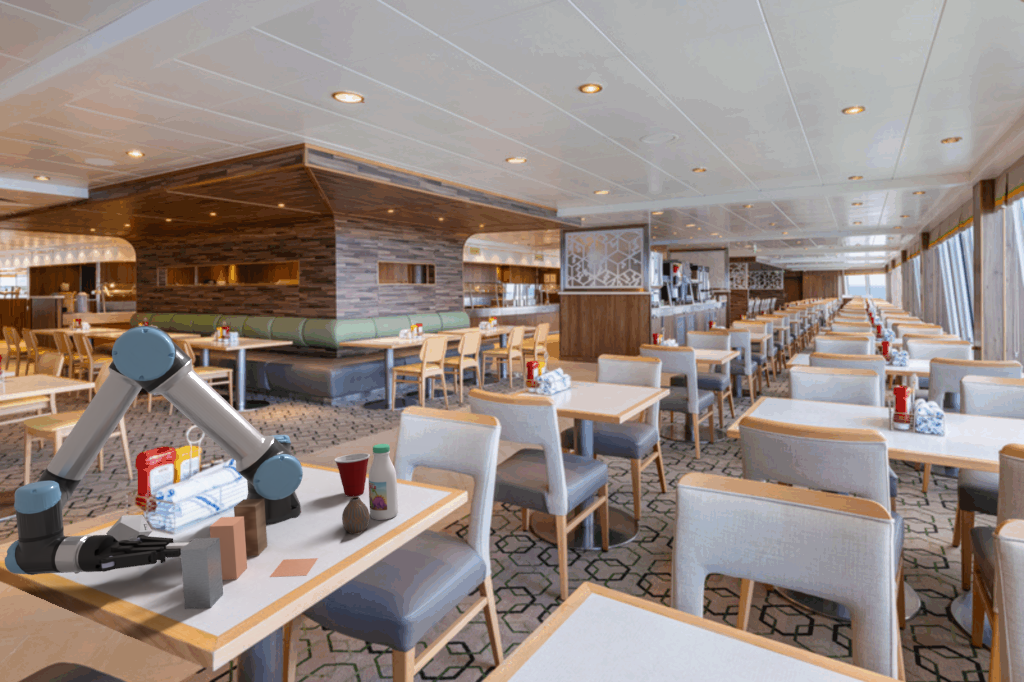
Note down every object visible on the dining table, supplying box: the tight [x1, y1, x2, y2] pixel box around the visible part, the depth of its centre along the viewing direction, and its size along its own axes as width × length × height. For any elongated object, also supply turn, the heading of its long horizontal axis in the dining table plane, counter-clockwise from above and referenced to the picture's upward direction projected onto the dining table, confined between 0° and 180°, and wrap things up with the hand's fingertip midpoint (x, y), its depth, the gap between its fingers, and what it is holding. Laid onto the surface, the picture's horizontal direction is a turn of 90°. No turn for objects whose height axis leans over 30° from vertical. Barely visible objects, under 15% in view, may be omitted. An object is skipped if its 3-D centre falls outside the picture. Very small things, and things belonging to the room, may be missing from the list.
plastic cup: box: [333, 453, 371, 498], centre depth 173 cm, size 11×11×12 cm
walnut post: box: [233, 498, 268, 557], centre depth 132 cm, size 5×5×12 cm
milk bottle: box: [368, 443, 399, 521], centre depth 154 cm, size 8×8×20 cm
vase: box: [341, 496, 370, 535], centre depth 145 cm, size 7×7×9 cm
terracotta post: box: [209, 516, 248, 581], centre depth 121 cm, size 5×5×12 cm
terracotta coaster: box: [269, 557, 319, 578], centre depth 124 cm, size 8×8×1 cm
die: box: [105, 514, 153, 541], centre depth 139 cm, size 8×9×10 cm
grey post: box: [180, 537, 224, 610], centre depth 110 cm, size 5×5×12 cm
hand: (198, 549), depth 121 cm, fingers closed
